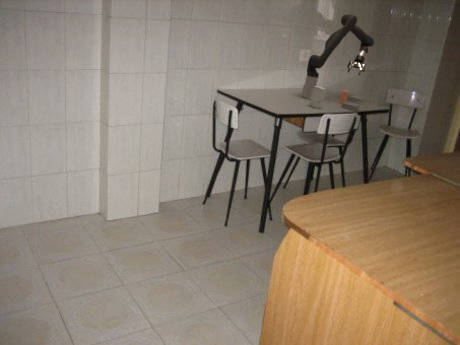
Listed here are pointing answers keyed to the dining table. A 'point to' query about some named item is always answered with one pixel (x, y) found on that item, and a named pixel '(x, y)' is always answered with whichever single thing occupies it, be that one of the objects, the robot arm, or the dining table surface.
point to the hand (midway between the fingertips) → (353, 73)
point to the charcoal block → (350, 106)
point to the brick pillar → (343, 96)
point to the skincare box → (317, 97)
